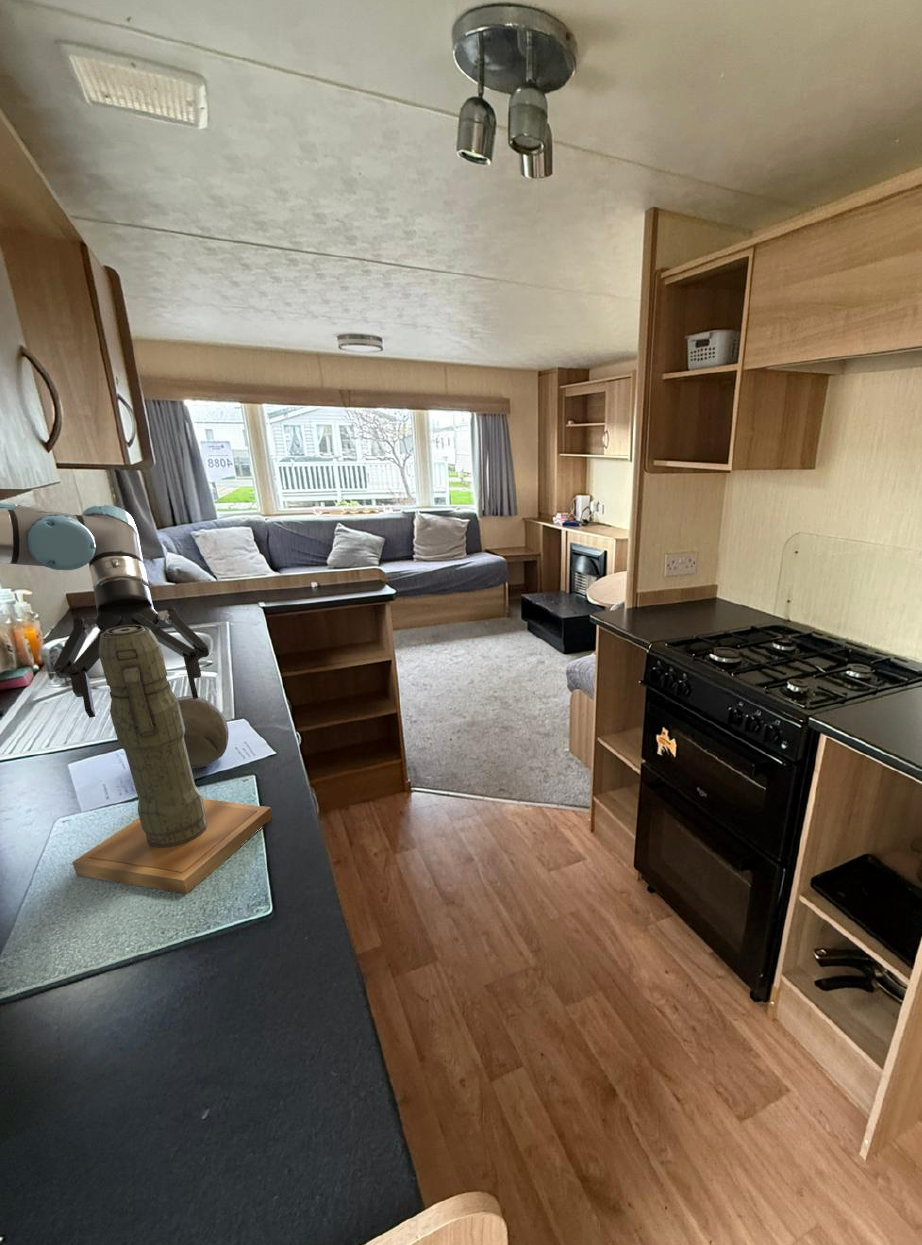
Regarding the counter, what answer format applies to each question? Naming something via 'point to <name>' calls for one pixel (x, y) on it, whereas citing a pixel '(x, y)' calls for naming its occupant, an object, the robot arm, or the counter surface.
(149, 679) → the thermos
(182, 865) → the oak board
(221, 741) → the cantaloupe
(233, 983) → the counter surface
